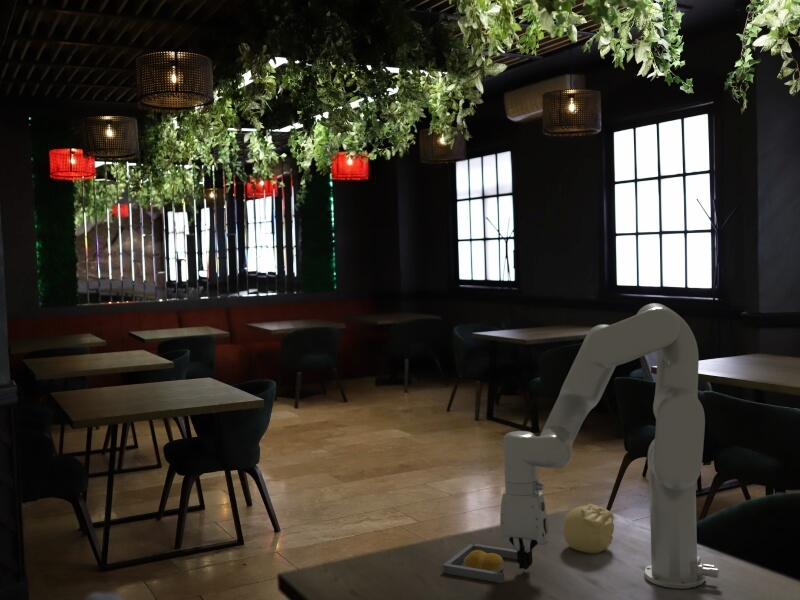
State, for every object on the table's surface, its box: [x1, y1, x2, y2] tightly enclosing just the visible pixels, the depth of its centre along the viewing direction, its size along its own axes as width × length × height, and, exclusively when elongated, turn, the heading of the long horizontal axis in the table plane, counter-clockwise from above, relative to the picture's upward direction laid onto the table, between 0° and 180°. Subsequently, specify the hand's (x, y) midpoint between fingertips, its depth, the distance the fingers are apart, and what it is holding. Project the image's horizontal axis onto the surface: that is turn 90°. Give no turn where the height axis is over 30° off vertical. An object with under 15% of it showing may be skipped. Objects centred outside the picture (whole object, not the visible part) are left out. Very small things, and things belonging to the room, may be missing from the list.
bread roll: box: [463, 550, 505, 573], centre depth 191 cm, size 8×9×4 cm
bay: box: [442, 543, 517, 584], centre depth 192 cm, size 15×15×2 cm
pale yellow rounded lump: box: [562, 503, 615, 554], centre depth 200 cm, size 12×12×11 cm
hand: (525, 566), depth 187 cm, fingers closed
